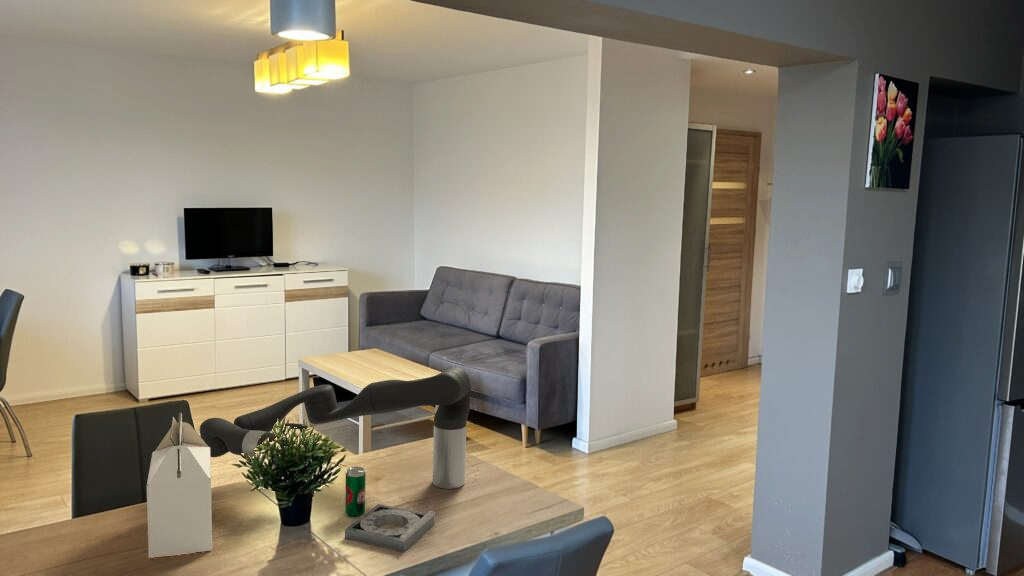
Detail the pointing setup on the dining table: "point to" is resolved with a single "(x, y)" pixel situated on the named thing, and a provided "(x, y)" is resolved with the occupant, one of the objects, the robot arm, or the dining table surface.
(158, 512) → the gable box
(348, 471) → the soda can
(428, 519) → the jig
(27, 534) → the dining table surface
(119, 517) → the dining table surface
